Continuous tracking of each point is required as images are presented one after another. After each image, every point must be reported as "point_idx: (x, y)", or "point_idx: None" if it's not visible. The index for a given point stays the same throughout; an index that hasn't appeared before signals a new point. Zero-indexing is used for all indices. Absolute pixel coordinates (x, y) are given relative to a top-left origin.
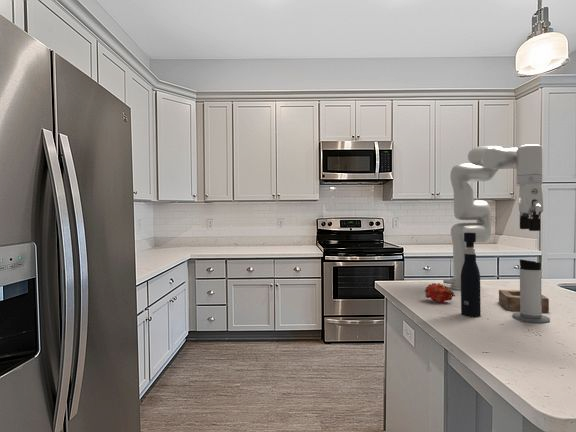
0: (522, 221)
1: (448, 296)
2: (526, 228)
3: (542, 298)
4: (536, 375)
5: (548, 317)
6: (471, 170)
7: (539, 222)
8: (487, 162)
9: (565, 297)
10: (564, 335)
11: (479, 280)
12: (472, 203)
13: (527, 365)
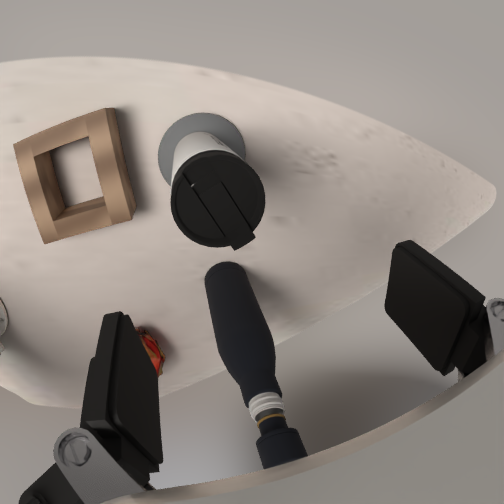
0: (152, 427)
1: (150, 340)
2: (140, 340)
3: (108, 125)
4: (457, 196)
5: (192, 114)
6: None
7: (458, 282)
8: None
9: None
10: (320, 110)
11: (255, 318)
12: None
13: (441, 200)
